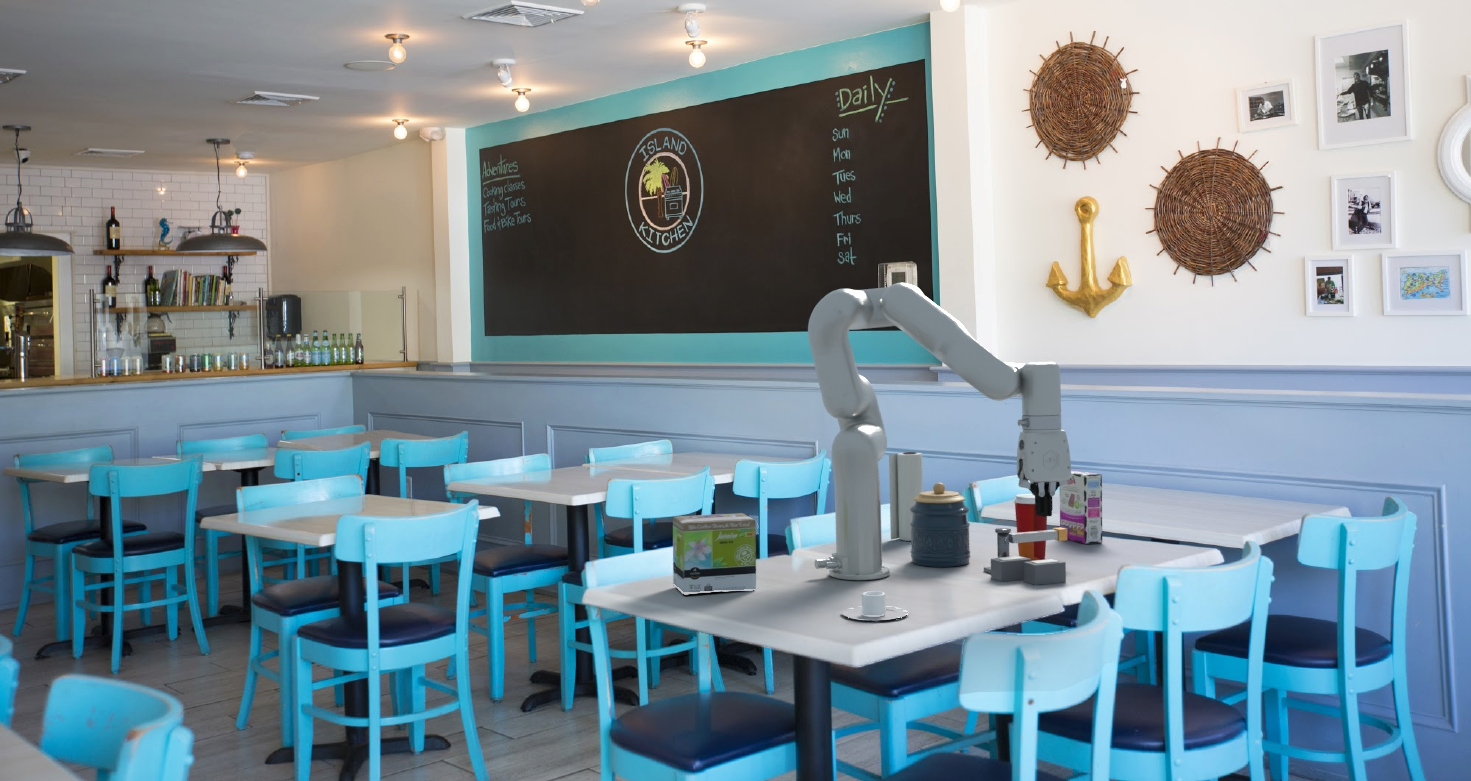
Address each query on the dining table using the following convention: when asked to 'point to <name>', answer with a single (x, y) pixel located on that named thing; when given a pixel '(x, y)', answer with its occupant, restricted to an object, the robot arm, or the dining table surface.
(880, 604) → the candle holder
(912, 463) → the paper towel roll
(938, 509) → the canister
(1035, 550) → the paper cup
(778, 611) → the dining table surface
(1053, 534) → the swing arm
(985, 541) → the dining table surface
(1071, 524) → the candy bar box
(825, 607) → the dining table surface
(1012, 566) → the block
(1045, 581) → the block
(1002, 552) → the pivot post
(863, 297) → the robot arm
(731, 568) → the tea box
